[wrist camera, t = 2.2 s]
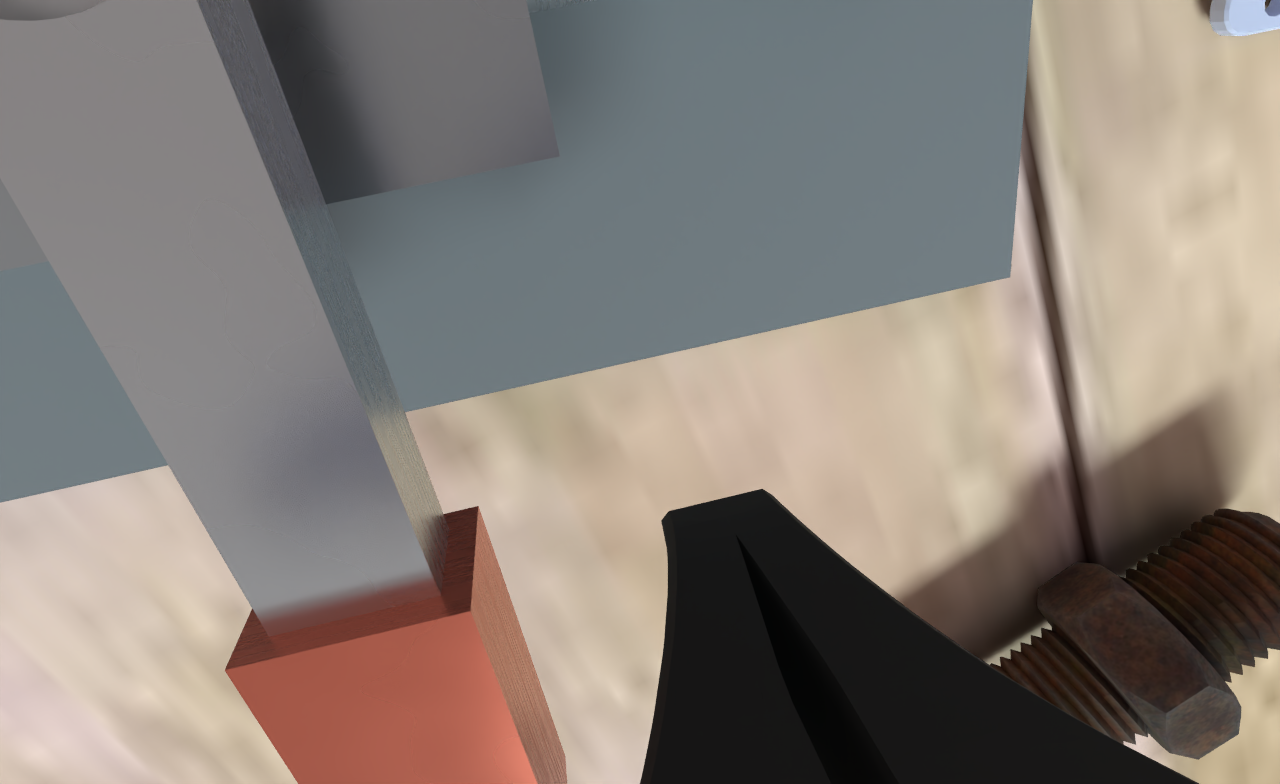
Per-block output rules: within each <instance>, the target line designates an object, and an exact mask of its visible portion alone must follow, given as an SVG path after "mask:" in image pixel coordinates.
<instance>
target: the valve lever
mask: <svg viewBox="0 0 1280 784" xmlns="http://www.w3.org/2000/svg"><path fill="white" fill-rule="evenodd" d="M0 179H1V181H2V182H3V184H4V186H5V187H6V189H7V191H8V193H9V194H10V196H11V198H12V199H13V201H14V203H15V204H16V206H17V208H18V210H19V211H20V213H21V215H22V216H23V218H24V220H25V222H26V223H27V225H28V227H29V228H30V230H31V232H32V233H33V235H34V237H35V239H36V240H37V242H38V244H39V245H40V247H41V249H42V251H43V252H44V254H45V256H46V257H47V259H48V261H49V262H50V264H51V266H52V268H53V269H54V271H55V273H56V274H57V276H58V278H59V279H60V281H61V283H62V285H63V286H64V288H65V290H66V291H67V293H68V295H69V297H70V298H71V300H72V302H73V303H74V305H75V307H76V308H77V310H78V312H79V314H80V315H81V317H82V319H83V320H84V322H85V324H86V326H87V327H88V329H89V331H90V332H91V334H92V336H93V337H94V339H95V341H96V343H97V344H98V346H99V348H100V349H101V351H102V353H103V355H104V356H105V358H106V360H107V361H108V363H109V365H110V366H111V368H112V370H113V372H114V373H115V375H116V377H117V378H118V380H119V382H120V383H121V385H122V387H123V389H124V390H125V392H126V394H127V395H128V397H129V399H130V401H131V402H132V404H133V406H134V407H135V409H136V411H137V412H138V414H139V416H140V418H141V419H142V421H143V423H144V424H145V426H146V428H147V430H148V431H149V433H150V435H151V436H152V438H153V440H154V441H155V443H156V445H157V447H158V448H159V450H160V452H161V453H162V455H163V457H164V458H165V460H166V462H167V464H168V465H169V467H170V469H171V470H172V472H173V474H174V476H175V477H176V479H177V481H178V482H179V484H180V486H181V487H182V489H183V491H184V493H185V494H186V496H187V498H188V499H189V501H190V503H191V505H192V506H193V508H194V510H195V511H196V513H197V515H198V516H199V518H200V520H201V522H202V523H203V525H204V527H205V528H206V530H207V532H208V534H209V535H210V537H211V539H212V540H213V542H214V544H215V545H216V547H217V549H218V551H219V552H220V554H221V556H222V557H223V559H224V561H225V562H226V564H227V566H228V568H229V569H230V571H231V573H232V574H233V576H234V578H235V580H236V581H237V583H238V585H239V586H240V588H241V590H242V591H243V593H244V595H245V597H246V598H247V600H248V602H249V603H250V605H251V607H252V611H251V613H250V615H249V617H248V619H247V622H246V624H245V626H244V628H243V631H242V633H241V635H240V637H239V640H238V642H237V644H236V646H235V649H234V651H233V653H232V655H231V658H230V660H229V662H228V664H227V666H226V669H225V671H226V673H227V675H228V676H229V678H230V679H231V681H232V682H233V684H234V685H235V687H236V688H237V690H238V691H239V693H240V695H241V696H242V698H243V699H244V701H245V702H246V704H247V705H248V707H249V708H250V710H251V712H252V713H253V715H254V716H255V718H256V719H257V721H258V722H259V724H260V725H261V727H262V728H263V730H264V732H265V733H266V735H267V736H268V738H269V739H270V741H271V742H272V744H273V745H274V747H275V749H276V750H277V752H278V753H279V755H280V756H281V758H282V759H283V761H284V762H285V764H286V765H287V767H288V769H289V770H290V772H291V773H292V775H293V776H294V778H295V779H296V781H297V782H298V784H567V776H566V761H565V754H564V751H563V749H562V746H561V743H560V740H559V737H558V734H557V731H556V728H555V726H554V723H553V720H552V717H551V714H550V711H549V708H548V705H547V703H546V700H545V697H544V694H543V691H542V688H541V685H540V682H539V679H538V677H537V674H536V671H535V668H534V665H533V662H532V659H531V656H530V654H529V651H528V648H527V645H526V642H525V639H524V636H523V633H522V631H521V628H520V625H519V622H518V619H517V616H516V613H515V610H514V607H513V605H512V602H511V599H510V596H509V593H508V590H507V587H506V584H505V582H504V579H503V576H502V573H501V570H500V567H499V564H498V561H497V559H496V556H495V553H494V550H493V547H492V544H491V541H490V538H489V535H488V533H487V530H486V527H485V524H484V521H483V518H482V515H481V512H480V510H479V507H478V506H477V507H473V508H468V509H464V510H460V511H455V512H451V513H447V514H443V512H442V509H441V507H440V504H439V501H438V499H437V496H436V494H435V491H434V488H433V486H432V483H431V480H430V478H429V475H428V472H427V470H426V467H425V464H424V462H423V459H422V457H421V454H420V451H419V449H418V446H417V443H416V441H415V438H414V435H413V433H412V430H411V428H410V425H409V422H408V420H407V417H406V414H405V412H404V409H403V406H402V404H401V401H400V399H399V396H398V393H397V391H396V388H395V385H394V383H393V380H392V377H391V375H390V372H389V370H388V367H387V364H386V362H385V359H384V356H383V354H382V351H381V348H380V346H379V343H378V340H377V338H376V335H375V333H374V330H373V327H372V325H371V322H370V319H369V317H368V314H367V311H366V309H365V306H364V304H363V301H362V298H361V296H360V293H359V290H358V288H357V285H356V282H355V280H354V277H353V275H352V272H351V269H350V267H349V264H348V261H347V259H346V256H345V253H344V251H343V248H342V246H341V243H340V240H339V238H338V235H337V232H336V230H335V227H334V224H333V222H332V219H331V216H330V214H329V211H328V209H327V206H326V203H325V201H324V198H323V195H322V193H321V190H320V187H319V185H318V182H317V180H316V177H315V174H314V172H313V169H312V166H311V164H310V161H309V158H308V156H307V153H306V151H305V148H304V145H303V143H302V140H301V137H300V135H299V132H298V129H297V127H296V124H295V121H294V119H293V116H292V114H291V111H290V108H289V106H288V103H287V100H286V98H285V95H284V92H283V90H282V87H281V85H280V82H279V79H278V77H277V74H276V71H275V69H274V66H273V63H272V61H271V58H270V56H269V53H268V50H267V48H266V45H265V42H264V40H263V37H262V34H261V32H260V29H259V27H258V24H257V21H256V19H255V16H254V13H253V11H252V8H251V5H250V3H249V0H0Z"/></svg>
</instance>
